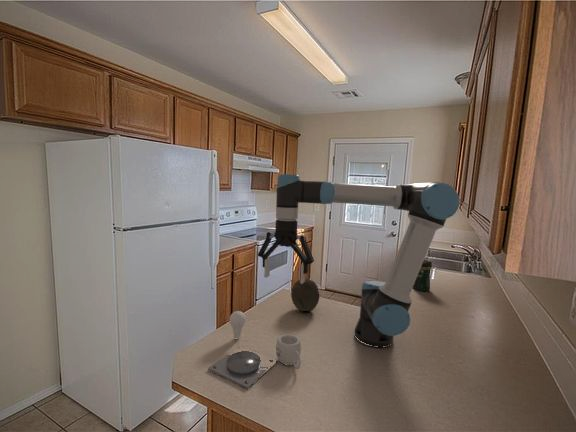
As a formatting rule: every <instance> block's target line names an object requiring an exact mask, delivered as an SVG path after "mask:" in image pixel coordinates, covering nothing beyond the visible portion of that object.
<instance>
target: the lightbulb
mask: <svg viewBox="0 0 576 432" xmlns="http://www.w3.org/2000/svg"><path fill="white" fill-rule="evenodd" d="M229 323H230V325H231V328H232V333H233V338H234V339H235V338H239V337H240V338H241V335H242V334H241V333H242V330H243V327H244V325H245V323H246V315H245V313H243V312H242V311H241V310H236V311H233V312H232V313H231V315H229ZM240 338H239V339H240Z"/></svg>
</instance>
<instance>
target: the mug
mask: <svg viewBox="0 0 576 432" xmlns="http://www.w3.org/2000/svg"><path fill="white" fill-rule="evenodd" d="M301 343H302V342H301V340H300V337H298V336H296V335H295V334H290V333H289V334H286V333H285V334H282V335H280V336H279V337H278V338H277V340H276V345H275V353H276V357H277V361H278V362H279V361H280V362H281V363H283V364H287V365H291V364H293V365H291V366H294V368H295V369H297V370H300V368H301V363H302V361H301V356H300V355H301V351H302V344H301ZM280 362H279V363H280ZM297 362H298V363H297ZM281 363H280V364H281ZM296 363H297V364H296ZM283 364H282V365H283Z"/></svg>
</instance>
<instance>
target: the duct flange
mask: <svg viewBox="0 0 576 432" xmlns="http://www.w3.org/2000/svg"><path fill="white" fill-rule="evenodd" d="M269 361H270V362H273V360H269ZM260 363H261V360H260V357H259V356H258V355H257V354H255V353H253V352H249V351H241V352H237V353H234V354H232V355H228V354H226V355H225V356H223V357H222V358H220V359H219V360H218V361H215V363H213V364H212V365H210V366H209V367H207V371H208V370H210V371H212V372H214V373H216V374H218V375H220V376H222V377H224V378H225V379H224V378H223V379H224V380H226V379H228V380H230V381H229V382H231V381H232V382H231V383H233V382H234V383H233V384H235V383H236V384H235V385H237V384H238V385H237V386H239V385H240V386H239V387H241V386H242V387H241V388H243V387H244V388H243V389H245V388H246V389H245V390H247V389H248V388H249V387H250V386H251V385H252V384H253V383H254V382H255V381H256V380H257V379H258V378H259V377H260V376H261V375H262V374H263V373H264V372H265V371H266V370H260V368H262V369H263V368H267V369H268V367H261V366H260ZM270 367H271V366H270ZM210 371H209V372H210ZM212 372H211V373H212ZM214 373H213V374H214ZM216 374H215V375H216ZM218 375H217V376H218ZM220 376H219V377H220ZM222 377H221V378H222ZM228 380H227V381H228ZM254 384H255V383H254ZM254 384H253V385H254ZM253 385H252V386H253ZM252 386H251V387H252ZM251 387H250V388H251ZM250 388H249V389H250ZM249 389H248V390H249Z"/></svg>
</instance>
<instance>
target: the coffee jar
mask: <svg viewBox="0 0 576 432" xmlns="http://www.w3.org/2000/svg"><path fill="white" fill-rule="evenodd" d="M432 268H433V264H432V261H431V260H426V259H424V261H423V263H422V266H421V268H420V271H419V273H418V275H417V278H416V280H415V283H414V285H413V288H412V289H414V290H417V291H420V292H429V291H430V290H431V270H432Z"/></svg>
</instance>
